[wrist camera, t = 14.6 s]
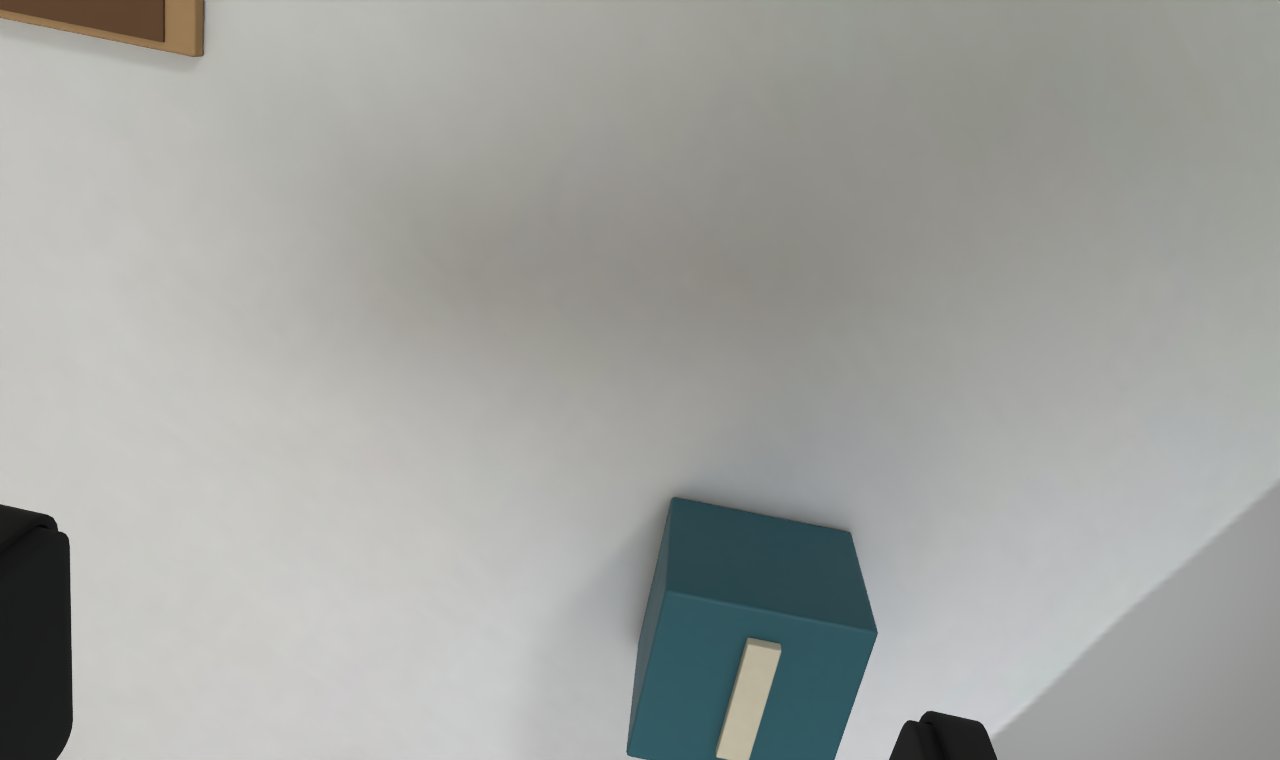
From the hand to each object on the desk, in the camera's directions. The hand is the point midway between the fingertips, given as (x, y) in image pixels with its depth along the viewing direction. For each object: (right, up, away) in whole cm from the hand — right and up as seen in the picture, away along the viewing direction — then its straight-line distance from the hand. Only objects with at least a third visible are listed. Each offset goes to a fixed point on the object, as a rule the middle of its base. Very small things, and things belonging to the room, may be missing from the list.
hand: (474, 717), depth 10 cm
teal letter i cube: (+5, -2, +16) cm, 17 cm away
